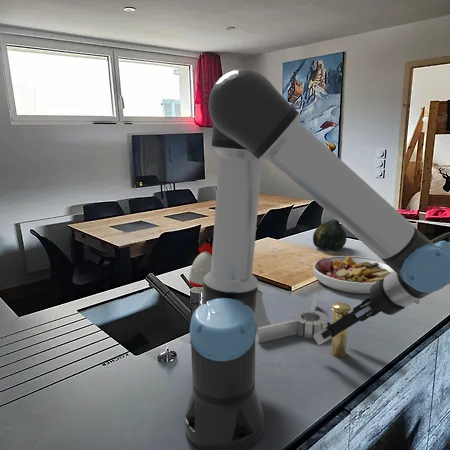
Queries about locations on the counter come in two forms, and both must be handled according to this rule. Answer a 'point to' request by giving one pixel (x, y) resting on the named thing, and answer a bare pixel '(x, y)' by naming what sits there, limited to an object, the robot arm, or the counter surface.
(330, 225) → the squash
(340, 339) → the hinge pin
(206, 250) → the kitchen timer
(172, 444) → the counter surface
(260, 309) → the flask
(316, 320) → the hinge
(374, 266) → the bowl
